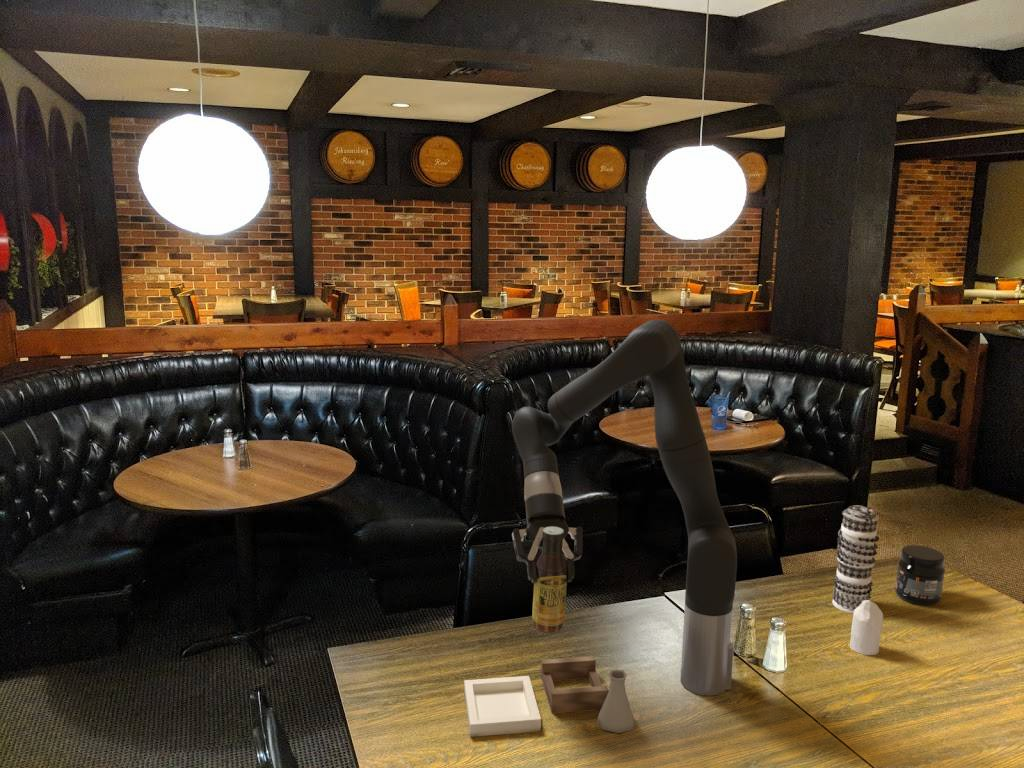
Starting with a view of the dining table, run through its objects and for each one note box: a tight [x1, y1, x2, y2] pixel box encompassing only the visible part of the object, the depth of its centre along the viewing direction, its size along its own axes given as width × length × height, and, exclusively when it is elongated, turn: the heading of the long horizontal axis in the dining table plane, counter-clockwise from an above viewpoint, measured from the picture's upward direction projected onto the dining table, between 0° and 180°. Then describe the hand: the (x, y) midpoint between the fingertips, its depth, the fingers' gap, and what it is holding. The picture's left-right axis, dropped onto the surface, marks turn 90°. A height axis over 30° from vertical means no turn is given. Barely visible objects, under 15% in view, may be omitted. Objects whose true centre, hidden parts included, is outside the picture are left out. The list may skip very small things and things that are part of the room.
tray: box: [463, 675, 542, 738], centre depth 152 cm, size 13×14×2 cm
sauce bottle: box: [531, 527, 568, 634], centre depth 151 cm, size 6×6×20 cm
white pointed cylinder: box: [849, 599, 884, 656], centre depth 173 cm, size 6×12×6 cm
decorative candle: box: [832, 504, 880, 615], centre depth 191 cm, size 9×9×25 cm
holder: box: [540, 655, 609, 714], centre depth 157 cm, size 11×12×4 cm
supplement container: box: [894, 544, 946, 607], centre depth 197 cm, size 10×10×12 cm
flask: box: [596, 669, 636, 734], centre depth 148 cm, size 7×7×10 cm
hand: (552, 581), depth 149 cm, fingers closed on sauce bottle, 6 cm apart
